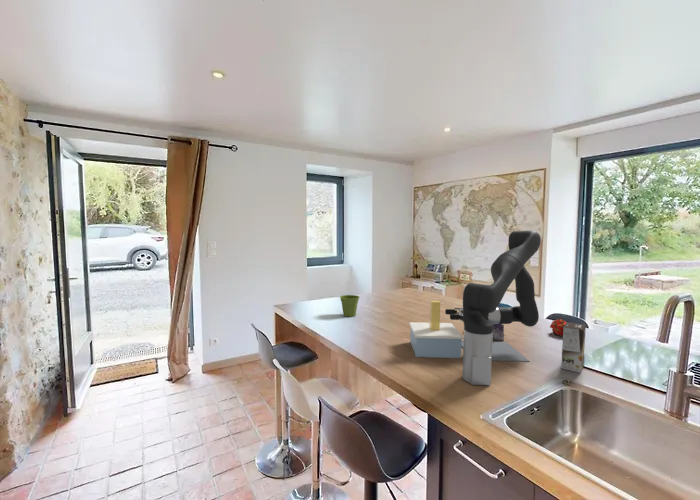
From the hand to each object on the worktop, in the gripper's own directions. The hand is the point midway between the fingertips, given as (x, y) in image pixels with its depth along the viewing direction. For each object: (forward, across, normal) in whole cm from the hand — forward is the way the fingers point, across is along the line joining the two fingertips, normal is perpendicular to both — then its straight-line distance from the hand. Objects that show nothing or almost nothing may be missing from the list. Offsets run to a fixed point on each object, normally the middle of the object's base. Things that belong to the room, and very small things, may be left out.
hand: (447, 314), depth 144 cm
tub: (+5, 0, +16) cm, 16 cm away
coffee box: (-44, +15, +16) cm, 49 cm away
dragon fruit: (-62, -24, +16) cm, 68 cm away
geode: (-25, -23, +16) cm, 38 cm away
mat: (-19, 0, +16) cm, 24 cm away
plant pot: (+45, -53, +16) cm, 71 cm away
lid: (+5, 0, +8) cm, 9 cm away
